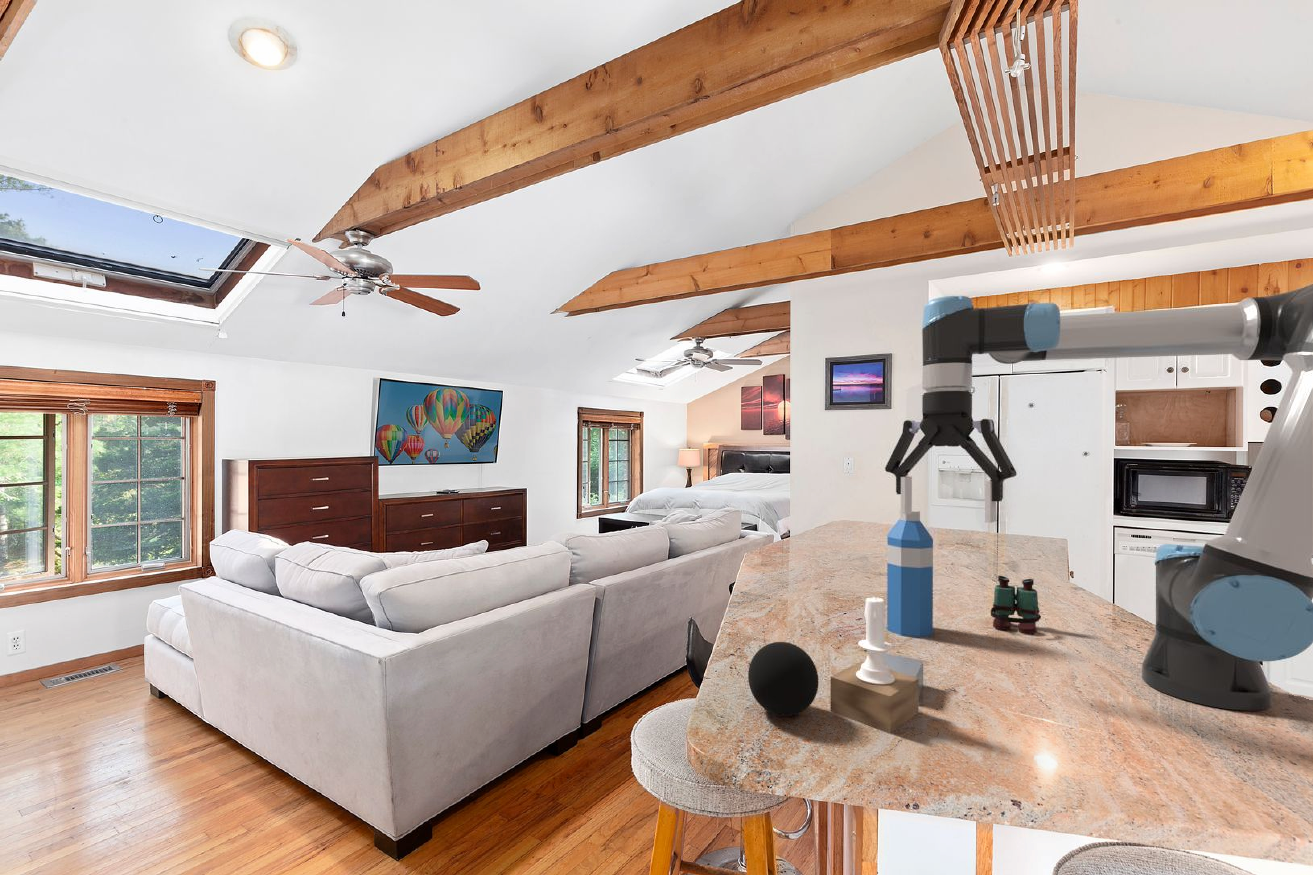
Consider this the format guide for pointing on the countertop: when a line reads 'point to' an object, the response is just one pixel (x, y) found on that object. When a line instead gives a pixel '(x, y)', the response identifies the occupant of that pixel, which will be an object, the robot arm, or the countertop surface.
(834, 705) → the walnut block
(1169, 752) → the countertop surface
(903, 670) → the slate block
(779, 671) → the decorative ball
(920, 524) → the water bottle
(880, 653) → the candle
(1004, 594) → the binoculars
